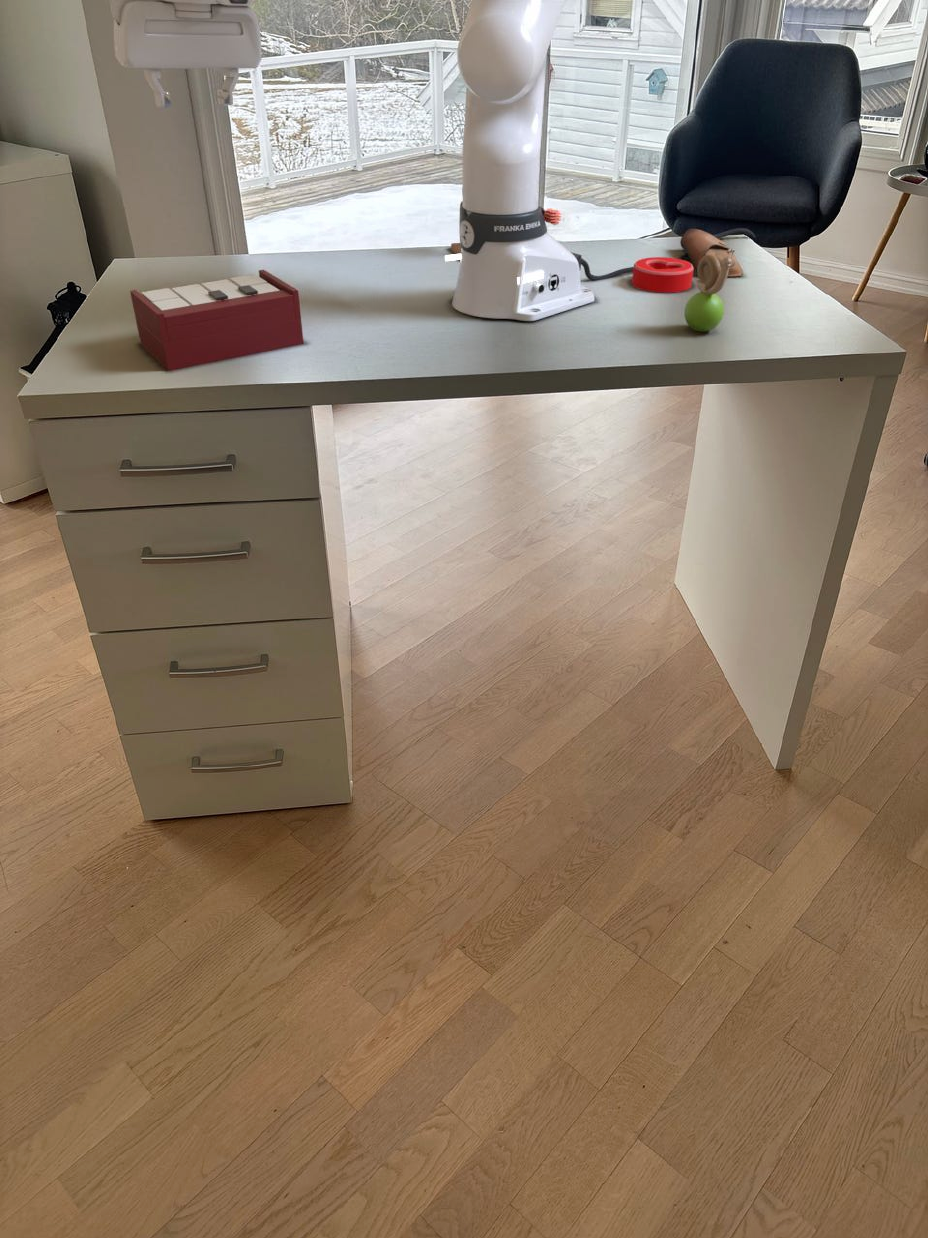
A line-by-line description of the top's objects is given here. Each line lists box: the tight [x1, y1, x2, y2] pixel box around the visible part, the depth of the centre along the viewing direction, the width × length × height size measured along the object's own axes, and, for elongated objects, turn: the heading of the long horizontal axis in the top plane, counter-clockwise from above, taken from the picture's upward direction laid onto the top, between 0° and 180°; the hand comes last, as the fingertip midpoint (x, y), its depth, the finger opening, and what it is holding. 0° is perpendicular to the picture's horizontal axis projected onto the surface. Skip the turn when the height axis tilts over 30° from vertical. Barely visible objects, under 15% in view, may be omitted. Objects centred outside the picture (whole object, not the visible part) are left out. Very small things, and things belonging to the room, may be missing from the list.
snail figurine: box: [683, 248, 736, 333], centre depth 130 cm, size 5×6×12 cm
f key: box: [140, 287, 179, 303], centre depth 126 cm, size 4×4×1 cm
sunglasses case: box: [679, 228, 744, 278], centre depth 162 cm, size 18×7×7 cm
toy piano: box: [129, 269, 305, 372], centre depth 127 cm, size 19×12×7 cm, turn 122°
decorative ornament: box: [631, 256, 695, 294], centre depth 152 cm, size 10×10×3 cm
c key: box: [229, 273, 267, 287], centre depth 131 cm, size 4×4×1 cm
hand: (195, 105), depth 129 cm, fingers open, 8 cm apart
